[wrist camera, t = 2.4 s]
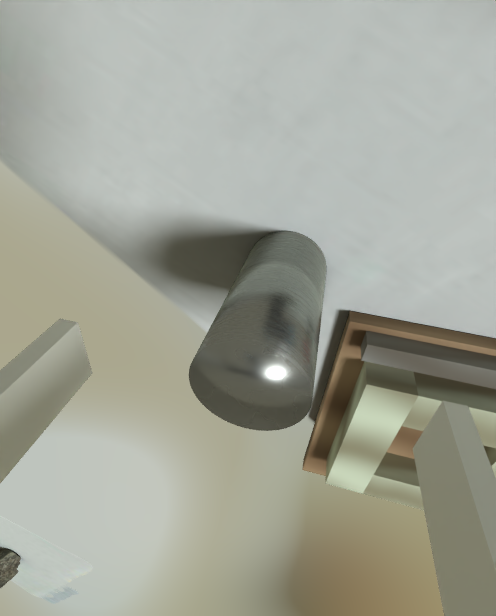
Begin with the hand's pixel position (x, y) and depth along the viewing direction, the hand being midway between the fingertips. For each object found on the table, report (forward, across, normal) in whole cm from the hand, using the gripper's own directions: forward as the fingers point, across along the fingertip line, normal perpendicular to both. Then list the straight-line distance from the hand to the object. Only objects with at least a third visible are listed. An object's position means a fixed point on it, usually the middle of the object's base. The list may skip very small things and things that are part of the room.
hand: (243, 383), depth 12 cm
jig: (+8, +11, -10) cm, 17 cm away
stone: (+11, -56, -90) cm, 106 cm away
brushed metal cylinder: (+8, 0, 0) cm, 9 cm away
